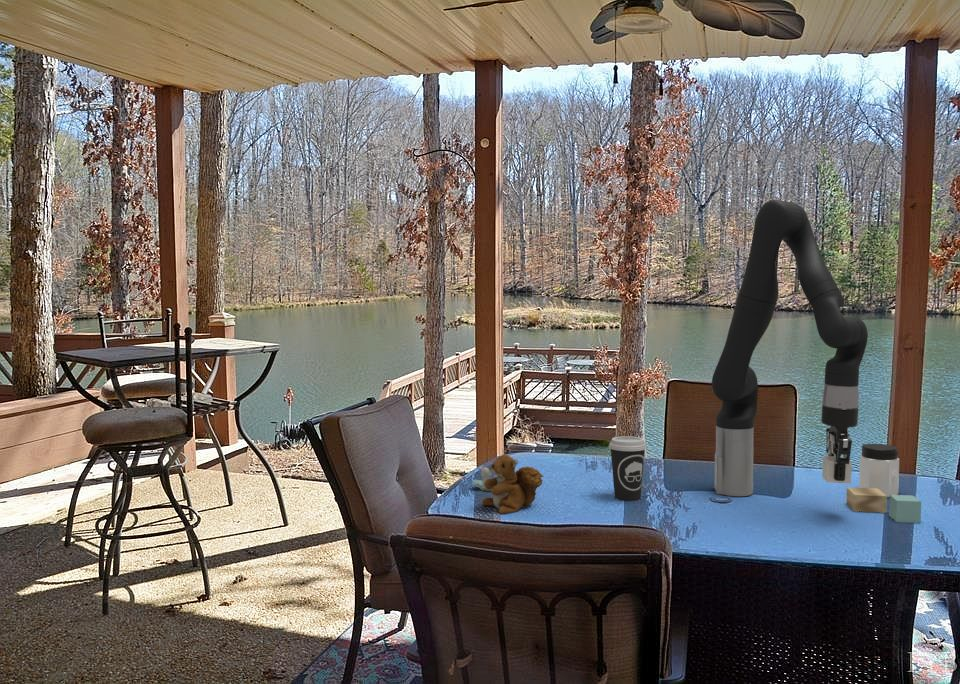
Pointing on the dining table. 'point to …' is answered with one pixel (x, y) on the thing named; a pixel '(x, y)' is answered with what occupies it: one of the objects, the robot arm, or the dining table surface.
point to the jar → (879, 468)
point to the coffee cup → (627, 466)
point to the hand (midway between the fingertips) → (836, 476)
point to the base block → (866, 500)
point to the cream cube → (829, 470)
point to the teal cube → (905, 508)
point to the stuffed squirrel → (511, 485)
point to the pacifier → (483, 479)
